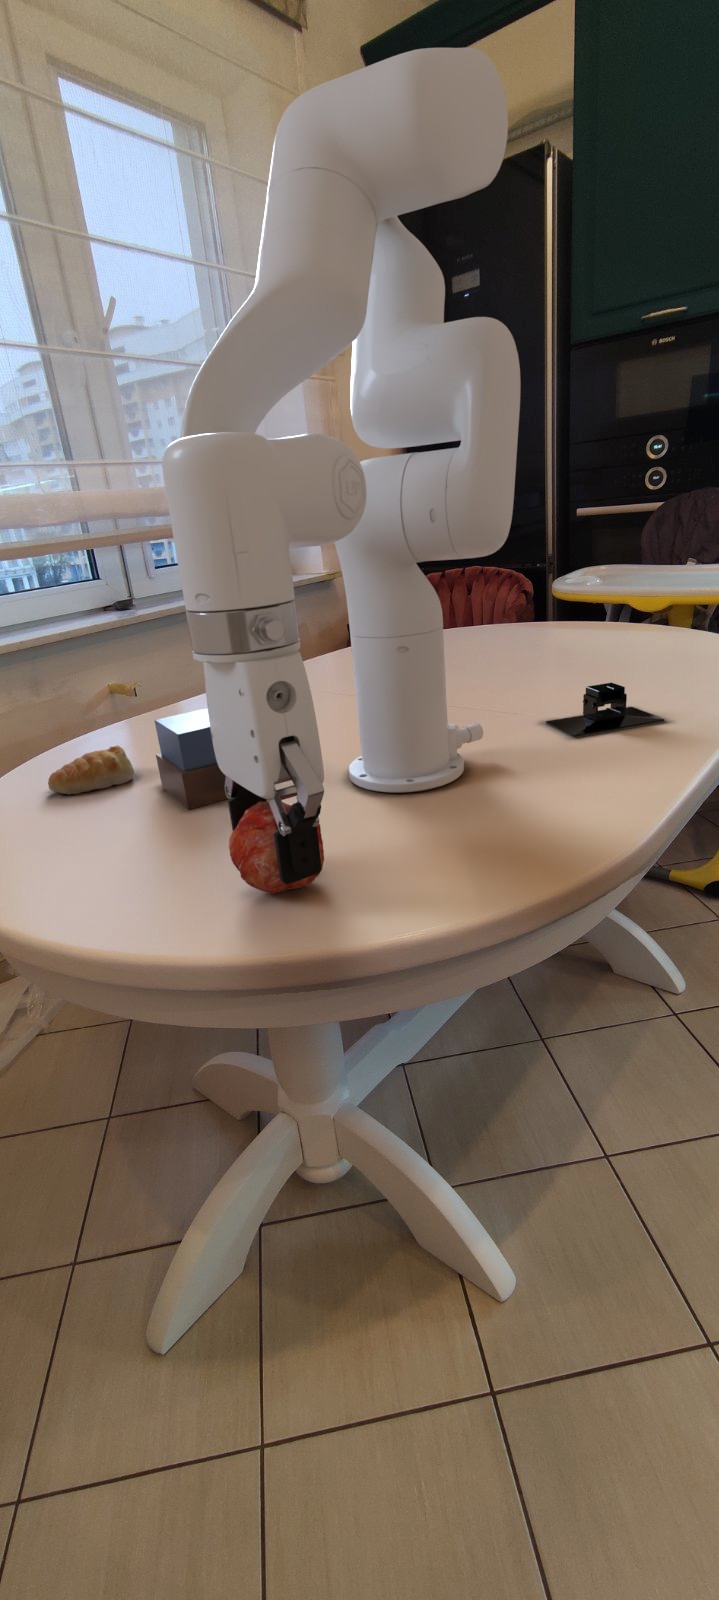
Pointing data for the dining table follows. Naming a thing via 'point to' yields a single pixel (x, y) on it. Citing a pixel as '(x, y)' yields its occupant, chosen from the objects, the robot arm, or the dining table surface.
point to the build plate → (604, 713)
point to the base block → (192, 783)
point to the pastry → (92, 772)
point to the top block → (186, 739)
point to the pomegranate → (262, 850)
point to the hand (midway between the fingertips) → (276, 857)
